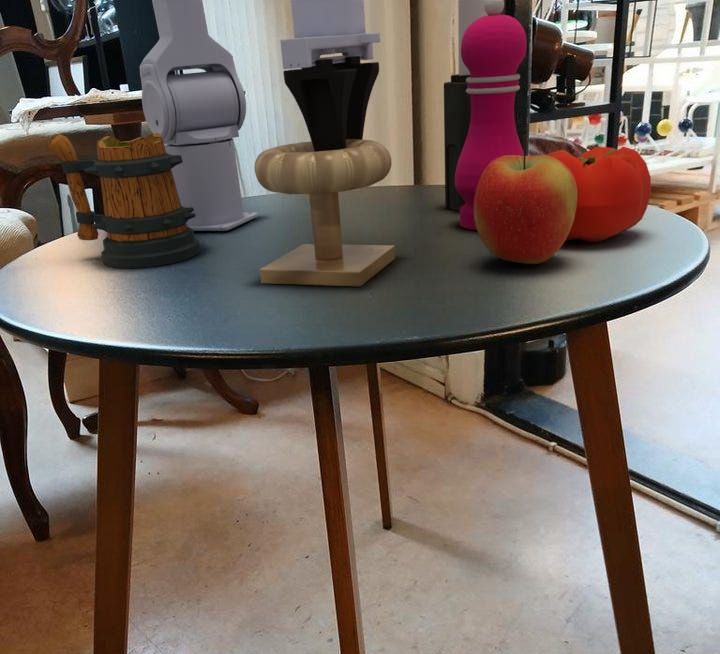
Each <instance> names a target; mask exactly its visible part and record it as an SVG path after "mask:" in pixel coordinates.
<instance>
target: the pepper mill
mask: <svg viewBox="0 0 720 654" xmlns="http://www.w3.org/2000/svg"><path fill="white" fill-rule="evenodd" d="M504 8H505V1H504V0H486V1H485V4H484V9H485V12H486V14H487V16H483V17H481V18H479V19H477V20H475V21H474V22H472V23H471V24H470V25H469V27H468V28H467V29H466V31H465V33H464V35H463V38H462V43H461V58H462V61H463V63H464V65H465V66H466V67H467V69H468V70H469V72H470V77H468V78H467V79H466V82H467V83H468V85H467V87H468V88H467V89H466V93H468V94H470V98H471V120H470V127H469V131H468V135H467V138H466V141H465V144H464V146H463V149H462V152H461V155H460V157H459V160H458V164H457V168H456V172H455V187H456V190H457V191H458V193H459V194H460V195H461V197H462V198H463V199H464V201H465V203H466V204H465V205H463V206H461V208H460V212H459V226H460V227H461V228H463V229H466V230H470V231H477V228H476V224H475V218H474V199H475V193H476V189H477V186H478V183H479V180H480V177H481V175H482V173H483V171H484V170H485V168H486V167H487V165H488V164H489V163H490V162H492V161H493V160H494V159H496V158H498V157H501V156H505V155H518V156H524V151H523V145H522V144H521V142H520V138H519V135H518V131H517V127H516V120H515V100H516V92H518V91H519V90H520V89H521V86H520V85H519V84H520V81H519V80H520V79H521V74H519V73H517V70H518V68H519V66H520V64H522V62H523V61H524V60H525V59H524V58H525V57H526V53H527V48H528V47H527V46H528V44H527V35H526V31H525V29H524V26H523V25H522V24H521V23H520V21H519V20H517V18H515V17H513V16H511V15H507V14H503V11H504Z"/></svg>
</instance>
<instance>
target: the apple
mask: <svg viewBox="0 0 720 654" xmlns="http://www.w3.org/2000/svg"><path fill="white" fill-rule="evenodd" d="M521 138H522V139H521V141H522V149H523V152H524V156H518V155H505V156H501V157H498V158H496V159H494V160H493V161H492V162H490V163H489V164H488V165H487V167H486V168H485V170H484V171H483V173H482V175H481V177H480V180H479V183H478V186H477V189H476V193H475V199H474V218H475V224H476V228H477V230H476V231H477V234H478V236H479V238H480V240H481V242H482V244H483V245H484V246H485V248H486V249H487V250H488V252H490V253H491V254H492V255H493V256H495V257H496V258H499V259H500V260H502V261H506V262H512V263H517V264H518V263H519V264H526V265H539V264H542V263H544V262H546V261H547V260H550V259H551V258H552V257H553V256H554V255H555V254H556V253H557V252H559V250H560V249H561V248H562V246H563V245H564V243H565V240H566V238H567V236H568V234H569V232H570V229H571V227H572V224H573V221H574V217H575V212H576V207H577V185H576V181H575V178H574V176H573V174H572V173H571V171H570V170H569V169H568V167H567V166H566V165H565V164H564V163H562V162H561V161H560V160H558V159H556V158H554V157H551V156H547V154H538V155H526V141H527V138H528V135H527V134H525V135H522V137H521ZM566 241H567V240H566Z"/></svg>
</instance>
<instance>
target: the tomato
mask: <svg viewBox="0 0 720 654" xmlns="http://www.w3.org/2000/svg"><path fill="white" fill-rule="evenodd" d="M546 155H547V156H551V157H554V158H556V159H558V160H560V161H561V162H562V163H564V164H565V165H566V166H567V167H568V169H569V170H570V171H571V173H572V174H573V176H574V178H575V181H576V185H577V207H576V212H575V217H574V221H573V224H572V227H571V229H570V232H569V234H568V236H567V238H566V240H565V241H573V240H582V241H584V242H588V243H596V242H597V243H600V242H602V241H603V240H606V239H608V238H610V237H611V238H612V237H614V236H616V235H618V234H621V233H623V232H625V231H627V230H630V229H631V228H634V227H635V226H636V225H637V224H639V222H641V221H642V220H643V217H644V216H645V213H646V211H647V209H648V205H649V201H650V197H651V194H652V183H651V181H652V180H651V174H650V171H649V167H648V163H647V162H646V161H645V159H644V158H643V157H642V155H641V154H640V153H639V152H638V151H637V150H635V149H634V148H630V147H627V146H621V147H619V148H615V147H608V146H599V145H597V146H596V147H594V148H592V149H589V150H587V151H585V152H584V153H583V154H581V155H580V156H577V157H576V156H574V155H573V154H572V153H569V152H568V151H566V150H565V149H560V150H559V149H558V150H555V151H552V152H549V153H546Z"/></svg>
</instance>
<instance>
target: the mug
mask: <svg viewBox="0 0 720 654" xmlns="http://www.w3.org/2000/svg"><path fill="white" fill-rule="evenodd" d="M146 136H147V137H136V138H134V139H132V140H127V141H126V140H125V141H121V140H120V139H117V138H115V137H113V136H110V135H105V136H104V137H102V138H100V139H97V140H96V142H95V143H96V152H97V160H96V159H84V160H81V159H78V157H77V154H76V151H75V149H74V146H73V144H72V142H71V141H70V139H69V138H68V137H67V136H65V135H64V134H61V133H59V134H57V135H55V136H54V137H53V138H52V139H51V140H50V141H49V143H48V148H49V150H50V151H51V152H52V153H53V154H55V155H56V156H57V157H58V158H60V159H61V160H62V161H61V162H60V164H61V169H62V173H63V174H66V180H67V186H68V191H69V193H70V197H71V200H72V203H73V204H74V207H75V209H76V212H75V218H76V223H77V224H79V225H78V229H77V233H76V235H77V237H78V239H79V240H82V241H96V240H98V238H99V231H98V230H100V231H104V232H106V236H105V238H104V239H102V245H103V250H102V251H101V252H100V254H101V259H102V263H103V264H104V265H105V266H106V267H111V268H116V269H143V268H152V267H153V268H154V267H159V266H165V265H170V264H175V263H179V262H182V261H185V260H190V259H191V258H193V257H195V256H197V255H199V254H200V252H201V243H200V239H198V238H196V236H195V233H194V231H193V229H191V228H190V227H187V223H186V222H187V221H188V220H189V219H191V218H194V217H195V213H191V212H192V211H194V209H193V207H188V208H185V207H182V206H181V202H180V199H179V195H178V192H177V188H176V185H175V181H174V178H173V174H172V170H171V169H172V168H174V166H176V165H178V164H180V163H182V162H183V160H182V159H181V158H182V157H181V155H171V154H168V153H166V149H165V146H164V142H163V139H162V136H161V135H160V134H159V133H152V132H151V133H148V134H146ZM82 171H84V173H87V174H91V175H94V176H97V177H100V185H101V186H100V187H101V194H102V201H103V202H102V203H103V211H104V212H103V213H104V214H98V213H96V212H95V211H94V210H91V209H92V208H91V205H90V201H89V198H88V196H87V191H86V189H85V185H84V181H83V179H82V175H81V172H82Z"/></svg>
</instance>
